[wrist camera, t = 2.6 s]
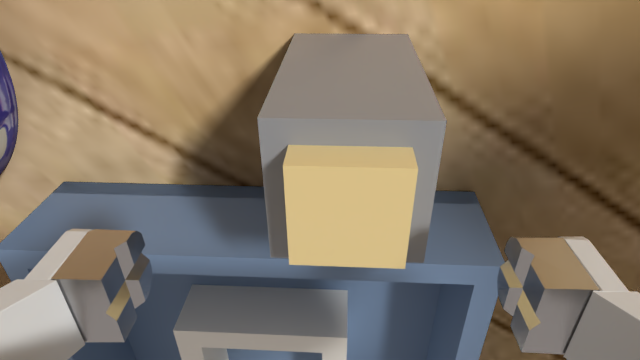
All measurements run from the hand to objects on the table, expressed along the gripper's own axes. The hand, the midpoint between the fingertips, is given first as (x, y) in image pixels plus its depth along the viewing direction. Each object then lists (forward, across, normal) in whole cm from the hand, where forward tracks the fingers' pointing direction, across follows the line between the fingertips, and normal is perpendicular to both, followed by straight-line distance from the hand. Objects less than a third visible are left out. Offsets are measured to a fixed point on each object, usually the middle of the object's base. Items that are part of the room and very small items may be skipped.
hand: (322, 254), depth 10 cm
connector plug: (+10, -1, 0) cm, 10 cm away
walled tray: (+10, +3, +15) cm, 18 cm away
